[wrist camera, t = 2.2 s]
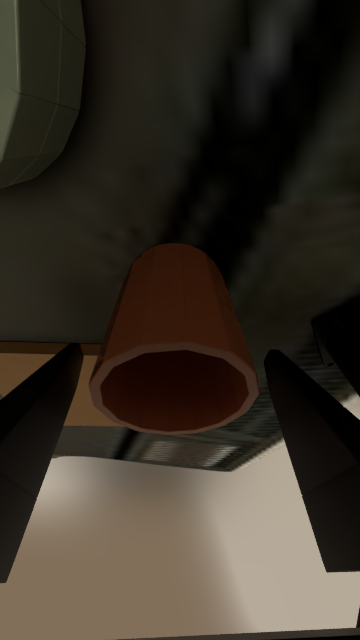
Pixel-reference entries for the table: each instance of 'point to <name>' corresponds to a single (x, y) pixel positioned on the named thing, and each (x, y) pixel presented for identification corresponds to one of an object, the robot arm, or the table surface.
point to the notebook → (26, 357)
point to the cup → (173, 348)
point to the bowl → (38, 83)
